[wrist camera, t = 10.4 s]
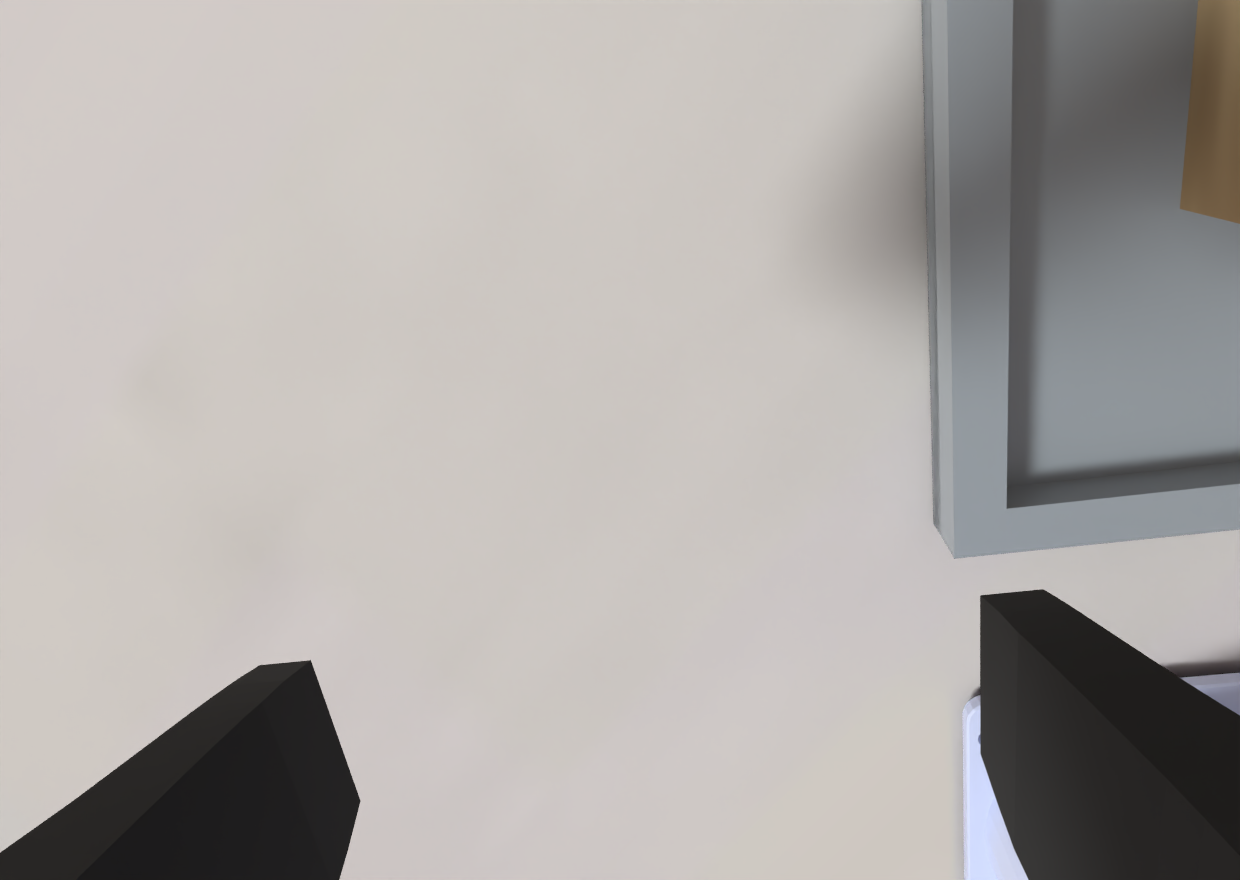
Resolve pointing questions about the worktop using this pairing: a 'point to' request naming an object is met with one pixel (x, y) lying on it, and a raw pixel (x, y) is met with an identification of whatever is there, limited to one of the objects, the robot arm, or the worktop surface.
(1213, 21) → the oak block
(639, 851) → the worktop surface
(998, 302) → the slate tray
